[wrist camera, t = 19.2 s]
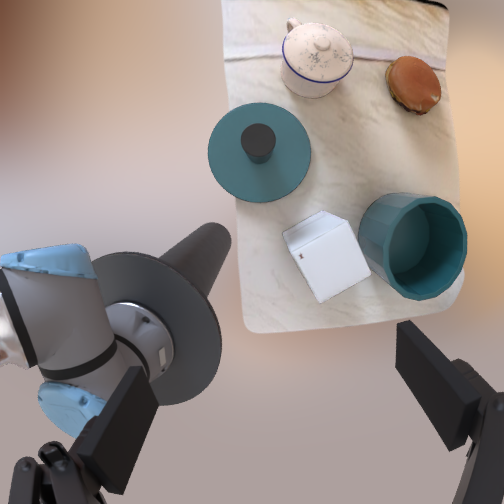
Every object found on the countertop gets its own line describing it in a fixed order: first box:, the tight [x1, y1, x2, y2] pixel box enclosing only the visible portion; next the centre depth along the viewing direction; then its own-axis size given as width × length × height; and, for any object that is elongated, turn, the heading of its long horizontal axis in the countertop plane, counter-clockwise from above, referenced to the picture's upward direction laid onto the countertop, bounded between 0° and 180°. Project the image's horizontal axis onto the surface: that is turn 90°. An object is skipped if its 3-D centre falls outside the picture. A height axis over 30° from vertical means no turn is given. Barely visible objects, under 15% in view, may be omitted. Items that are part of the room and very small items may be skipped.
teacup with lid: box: [281, 18, 353, 98], centre depth 33 cm, size 12×9×12 cm
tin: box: [358, 193, 467, 301], centre depth 39 cm, size 14×14×10 cm
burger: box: [385, 56, 441, 115], centre depth 37 cm, size 10×9×5 cm
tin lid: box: [208, 103, 311, 203], centre depth 36 cm, size 15×15×13 cm
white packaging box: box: [282, 210, 372, 304], centre depth 39 cm, size 7×7×13 cm
